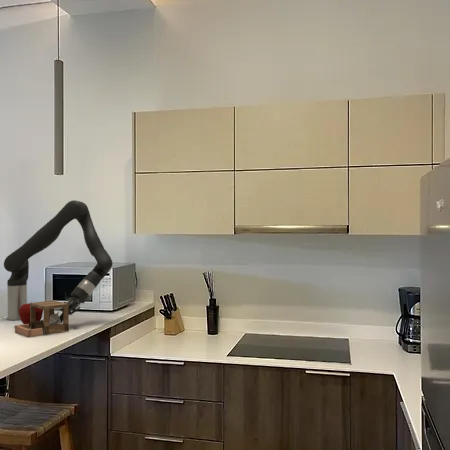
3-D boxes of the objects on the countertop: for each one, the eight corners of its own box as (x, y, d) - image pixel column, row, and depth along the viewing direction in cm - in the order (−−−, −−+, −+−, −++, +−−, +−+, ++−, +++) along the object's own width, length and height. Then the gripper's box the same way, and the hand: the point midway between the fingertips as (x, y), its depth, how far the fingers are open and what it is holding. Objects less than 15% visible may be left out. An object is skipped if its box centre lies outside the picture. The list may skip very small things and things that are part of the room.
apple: (43, 323, 248) (43, 299, 248) (44, 327, 238) (43, 302, 238) (18, 325, 244) (18, 300, 244) (18, 329, 234) (18, 303, 234)
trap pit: (14, 332, 227) (14, 325, 227) (28, 330, 231) (28, 323, 231) (28, 337, 216) (28, 330, 216) (42, 335, 221) (42, 328, 221)
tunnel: (30, 329, 232) (29, 303, 232) (53, 326, 240) (52, 300, 240) (45, 335, 221) (45, 306, 221) (68, 331, 228) (68, 304, 228)
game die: (47, 338, 231) (38, 319, 234) (65, 329, 235) (56, 311, 238) (46, 332, 224) (37, 312, 227) (65, 323, 227) (55, 304, 231)
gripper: (71, 285, 245) (47, 314, 237) (85, 287, 236) (60, 317, 227) (81, 294, 249) (58, 323, 240) (95, 297, 239) (72, 327, 231)
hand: (59, 320), depth 234 cm, fingers closed
